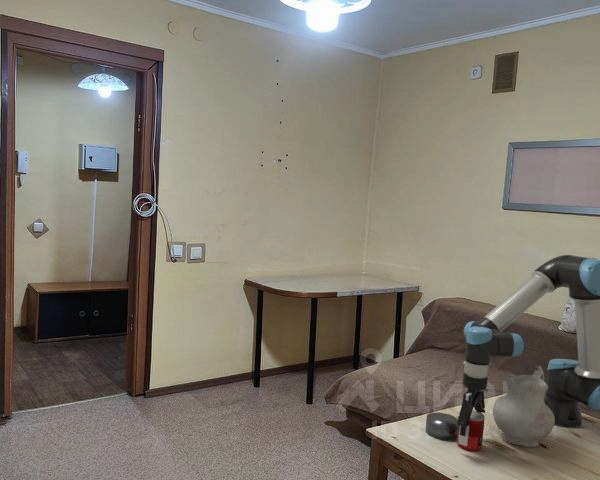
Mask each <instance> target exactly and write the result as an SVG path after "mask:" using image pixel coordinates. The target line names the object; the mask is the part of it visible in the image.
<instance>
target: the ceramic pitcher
mask: <svg viewBox="0 0 600 480" xmlns="http://www.w3.org/2000/svg"><path fill="white" fill-rule="evenodd" d="M504 378H505V381H506V385H507V393H506V394H505V395H504V396H501V397H499V398H497V399H496V400H495V401H494V403H493V406H492V407H493V408H492V416H493V420H494V422H495V424H496V426H497V428H498V429H499V430H500V431H501V432H503V433H502V435H501V437H500V438H501V440H502V442H504V443H506V444H507V443H508V444H512V445H517V446H521V447H526V448H536V447H539V446H540V443H539V441H541V440H544V439H545V438H547V437H548V436H549V435H550V434H551V432H552V431H553V429H554V426H555V417H554V414H553V412H552V411H551V410H550V408H549V407H548V406H547V405H546V404H545V402H544V397H545V392H546V391H547V389H548V385H547V384H546V382H545V373H544V369H543V367H542V366H541V365H539V364H538V365H537V364H536V365H535V366H534V371H533V374H532V375H531V374H530V375H529V374H528V375H527V374H520V375H518V376H516V375H515V374H513V373H512V372H509V371H505V374H504Z"/></svg>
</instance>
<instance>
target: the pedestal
mask: <svg viewBox="0 0 600 480" xmlns="http://www.w3.org/2000/svg"><path fill="white" fill-rule="evenodd" d="M458 419H459V418H457V416H454V415H451V414H449V413H445V412H431V413H428V414H427V415H426V420H425V421H426V422H425V434H427V435H428V436H430V437H431V438H433V439H436V440H439V441H440V440H441V441H448V442H449V441H454V440H457V433H458V424H457V421H458Z"/></svg>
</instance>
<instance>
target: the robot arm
mask: <svg viewBox="0 0 600 480" xmlns="http://www.w3.org/2000/svg"><path fill="white" fill-rule="evenodd" d="M559 288H567V289H568V295H569V298H570V299H571V300H572V301H574V312H575V313H574V314H575V328H576V329H575V330H576V341H577V342H576V343H577V359H578V360H575V359H569V358H568V359H567V358H553V359H550V360H549V362H548V365H547V368H546V369H547V371H546V378H545V379H546V382H545V383H546V384H547V385H548V389H547V391H546V392H545V394H544V402H545V404H546V405H547V406H548V407H549V408H550V410H551V411H552V412H553V414H554V417H555V424H554V426H558V427H559V426H560V427H563V428H579V427H581V426H582V424H583V415H582V411H581V406H580V404H583V405H584V406H587V407H589V408H590V409H593V410H596V411H598V412H600V259H597V258H594V257H593V258H592V257H584V256H583V257H582V256H578V255H577V256H576V255H572V254H571V255H570V254H562V255H559V256H558V255H557V256H556V257H553V258H551V259H549V260H547V261H546V262H545V263H542V264H541V265H540V266H539V267H537V268H536V269H535V270H533V272H532V273H531V277H530V278H528V279H527V280H526V281H525V282H524V283H522V285H520V286H519V287H517V288H516V290H514V291H513V292H512V293H511V294H510V295H508V296H506V298H505V299H504V300H502V301H501V302H500V303H499V304H498V305H497V306H495V307H494V308H493V309H492V310H491V311H489V312H488V313H487V314H485V316H484V317H482V318H481V319H480V320H479V321H476V320H473V321H469V322H467V323H466V324H465V325H464V327H463V336H464V338H465V342H466V345H465V355H464V357H465V358H464V361H463V363H462V365H464V366H463V367H464V369H463V372H464V373H463V376H462V378H463V379H462V384H463V386H464V387H466V388H467V391H466V392H464V393H463V397H462V402H461V407H460V411H459V413H460V415H459V414H458V418H457V419H458V421H457V424H459V425H460V429H459V439H458V444H461V445H464V446H467V443H468V432H469V426H468V424H469V420H470V417H471V414H472V410H474V411H477V412H480V413H482V414H485V413H486V409H485V408H486V405H485V404H486V403H485V390H486V389H487V387H488V376H489V369H490V361H491V358H503V357H504V358H511V357H519V356H521V355H522V353H523V352H524V349H525V348H524V347H525V344H524V343H525V342H524V340H523V338H522V336H521V335H519V334H518V333H512V332H508V333H505V332H503V331H504V330H505V329H506V328H507V327H508V326H510V325H511V324H512V323H513V322H515V321H516V320H517V319H518V318H519V317H521V315H523V314H524V313H525V312H526V311H528V309H530V308H531V307H532V306H533V305H535V304H536V302H538V301H540V299H541V298H543V297H544V296H545V295H546V294H547V293H551V294H552V293H553V292H555V291H556V290H557V289H559ZM463 421H464V422H463ZM458 444H457V445H458Z"/></svg>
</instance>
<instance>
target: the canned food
mask: <svg viewBox="0 0 600 480" xmlns="http://www.w3.org/2000/svg"><path fill="white" fill-rule="evenodd" d="M458 413H459V414H458V416H459V415H460V412H458ZM485 420H486V419H485V415H484V413H483V412H481V413H480V412H477V411H476V410H475V409H473V410H472V414H471V417H470V420H469V424H468V426H469V432H468V443H467V446H464V445H461V444H458V439H459V429H460V425H459V424H458V433H457V439H456V444H457V446H458V447H459V448H460V449H462V450H464V451H467V452H478V451H480V450H482V447H483V439H484V432H485V431H484V430H485ZM463 422H464V421H463Z"/></svg>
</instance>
